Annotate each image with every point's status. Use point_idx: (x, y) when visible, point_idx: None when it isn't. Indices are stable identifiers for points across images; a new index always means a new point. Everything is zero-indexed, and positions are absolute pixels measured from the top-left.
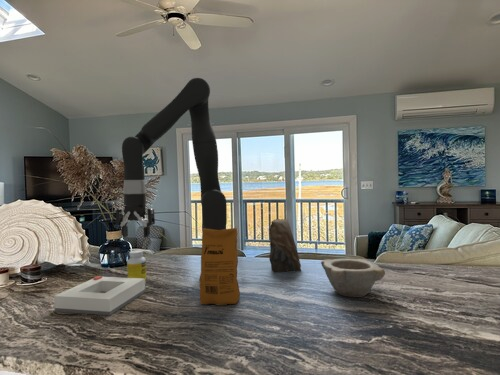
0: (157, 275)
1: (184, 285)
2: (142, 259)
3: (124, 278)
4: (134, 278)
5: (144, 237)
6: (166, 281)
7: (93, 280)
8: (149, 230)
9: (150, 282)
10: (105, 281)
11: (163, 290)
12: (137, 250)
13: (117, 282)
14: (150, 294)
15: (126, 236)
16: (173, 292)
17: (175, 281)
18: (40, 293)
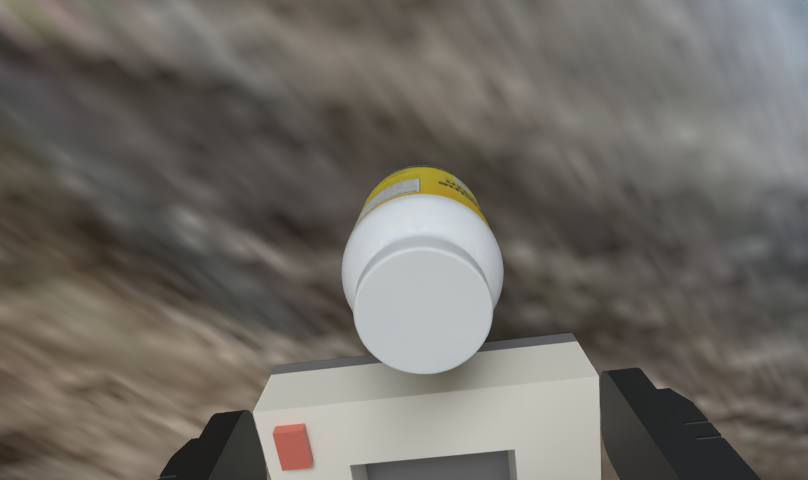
0: (453, 29)
1: (767, 179)
2: (494, 287)
3: (460, 404)
4: (527, 390)
5: (603, 431)
6: (602, 139)
7: (298, 471)
8: (730, 457)
9: (500, 187)
10: (378, 459)
11: (666, 287)
12: (401, 272)
13: (458, 449)
14: (622, 353)
15: (257, 435)
16: (742, 299)
17: (669, 122)
18: (42, 470)
